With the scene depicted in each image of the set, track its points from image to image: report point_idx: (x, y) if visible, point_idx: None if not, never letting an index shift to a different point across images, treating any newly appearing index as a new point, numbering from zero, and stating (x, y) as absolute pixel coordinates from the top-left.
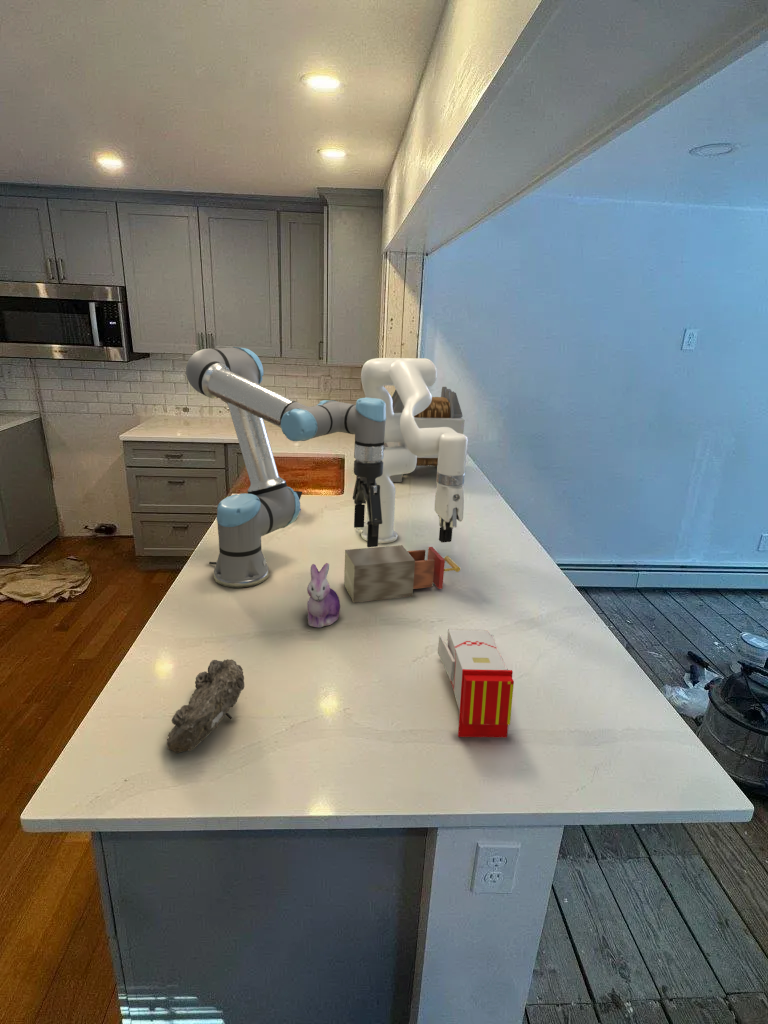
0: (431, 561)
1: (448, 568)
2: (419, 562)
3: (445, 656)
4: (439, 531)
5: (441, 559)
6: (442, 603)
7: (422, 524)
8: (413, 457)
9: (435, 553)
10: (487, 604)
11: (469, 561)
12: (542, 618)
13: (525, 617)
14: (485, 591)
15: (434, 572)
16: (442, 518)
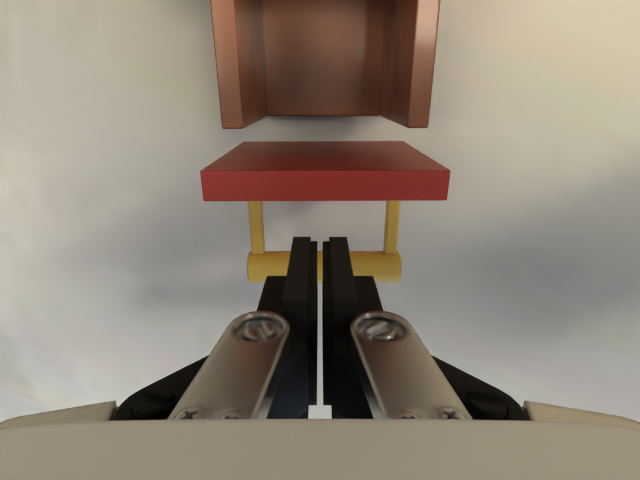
0: (221, 102)
1: (257, 220)
2: None
3: None
4: (350, 273)
5: (212, 179)
6: (143, 117)
7: None
8: None
9: (321, 176)
10: (125, 290)
11: (482, 372)
12: (26, 408)
13: (30, 366)
14: (226, 325)
15: (303, 149)
16: (193, 422)
